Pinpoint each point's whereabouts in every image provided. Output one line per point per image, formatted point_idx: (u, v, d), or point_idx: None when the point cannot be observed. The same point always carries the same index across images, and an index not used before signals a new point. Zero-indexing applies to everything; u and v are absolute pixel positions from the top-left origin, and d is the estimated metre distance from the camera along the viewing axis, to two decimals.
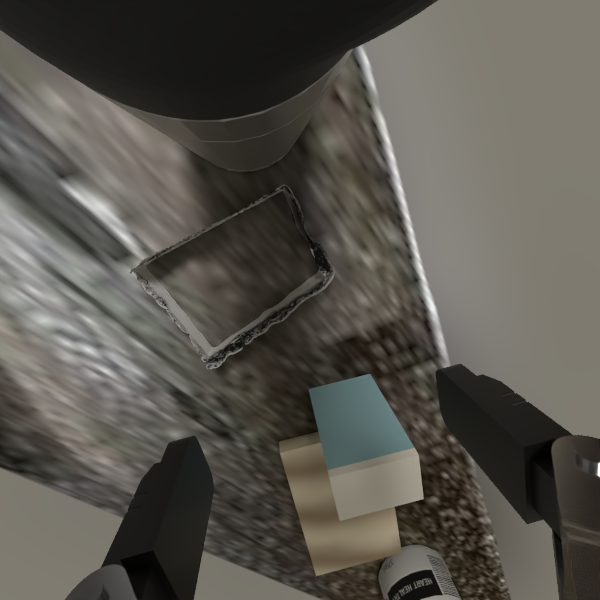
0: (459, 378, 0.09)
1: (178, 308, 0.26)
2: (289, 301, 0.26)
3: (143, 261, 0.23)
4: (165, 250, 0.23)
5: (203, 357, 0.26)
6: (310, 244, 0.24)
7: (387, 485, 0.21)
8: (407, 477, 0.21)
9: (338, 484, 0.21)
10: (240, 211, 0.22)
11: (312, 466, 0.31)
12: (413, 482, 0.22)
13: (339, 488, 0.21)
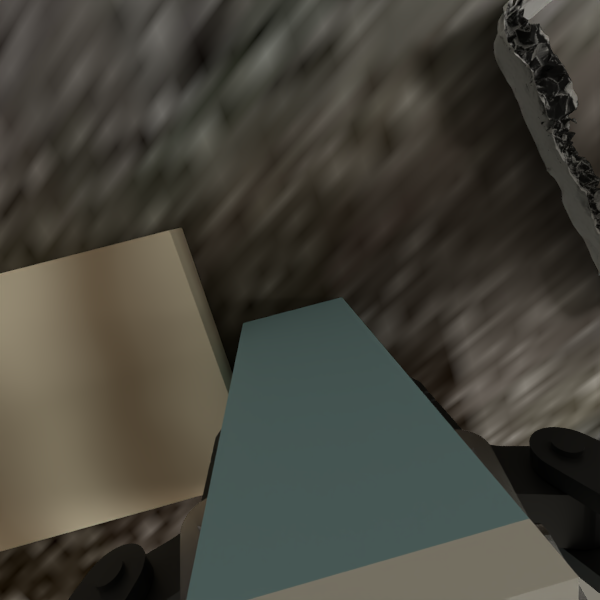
0: None
1: None
2: None
3: None
4: None
5: None
6: None
7: None
8: None
9: None
10: None
11: (122, 328, 0.11)
12: None
13: None
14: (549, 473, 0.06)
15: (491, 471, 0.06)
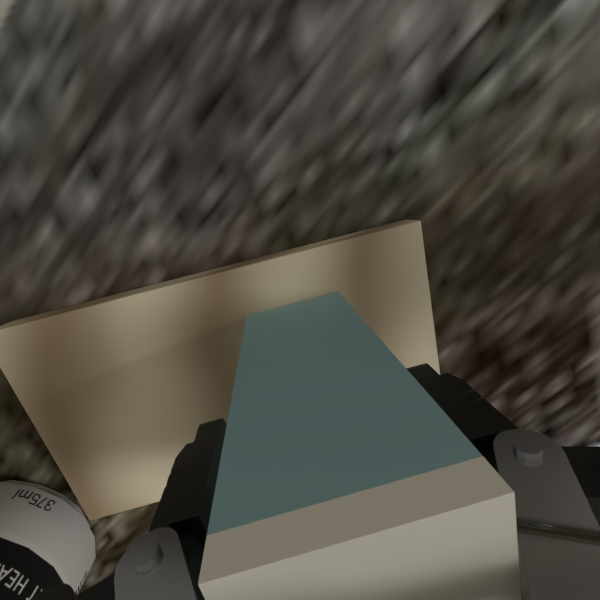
0: (423, 376, 0.10)
1: None
2: None
3: None
4: None
5: None
6: None
7: None
8: None
9: (460, 537, 0.04)
10: None
11: (371, 296, 0.14)
12: None
13: (433, 545, 0.04)
14: None
15: (568, 473, 0.06)
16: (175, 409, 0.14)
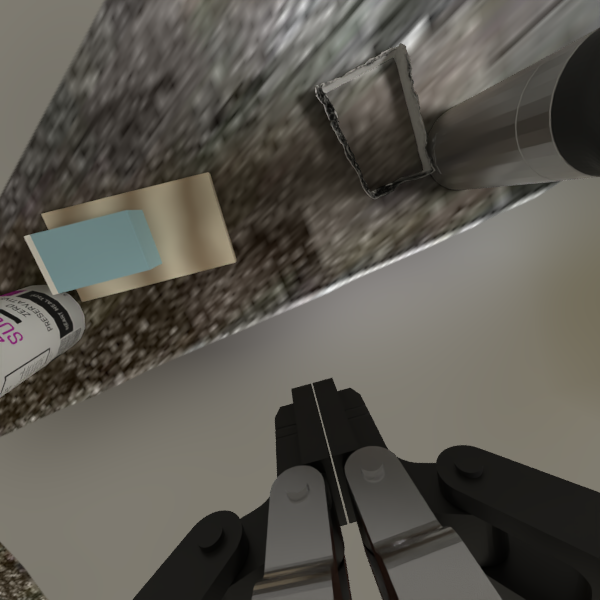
0: (322, 391, 0.10)
1: (359, 74, 0.34)
2: None
3: (408, 56, 0.32)
4: (409, 76, 0.33)
5: (323, 84, 0.33)
6: (395, 183, 0.36)
7: None
8: None
9: None
10: (426, 136, 0.35)
11: (192, 203, 0.35)
12: None
13: None
14: (458, 498, 0.06)
15: (393, 490, 0.06)
16: None
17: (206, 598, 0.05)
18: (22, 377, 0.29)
